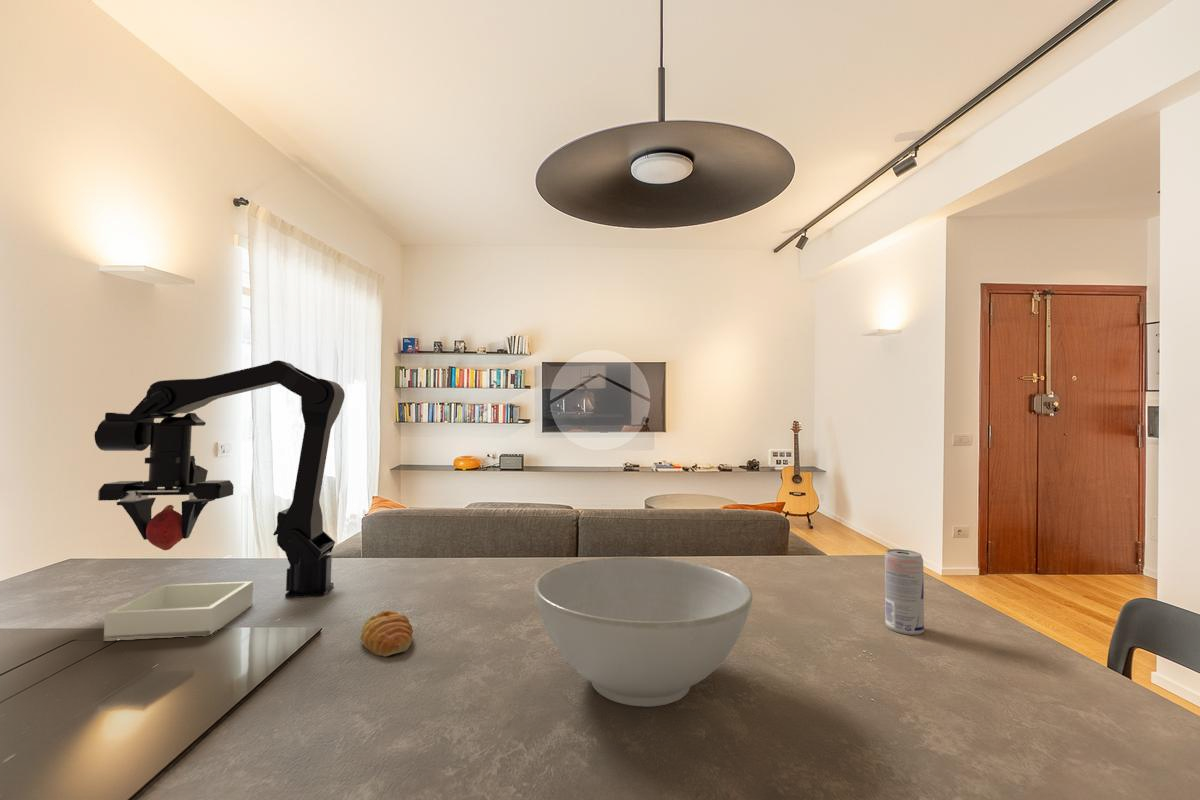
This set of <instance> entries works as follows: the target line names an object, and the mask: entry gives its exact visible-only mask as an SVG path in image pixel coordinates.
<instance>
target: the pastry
mask: <svg viewBox="0 0 1200 800" xmlns="http://www.w3.org/2000/svg"><path fill="white" fill-rule="evenodd" d="M413 633H414V629H413V626H412V624H411V623H410V620H409V618H408V617H407V616H406V615H404V614H399V613H398V612H397V611H393V610H384V611H380V612H378V613H377V614H375V615H373V616H371V617H369V619H368V620H367V621H366V622H365V624H364V625H363V627H362V629H361V633H360V641H361V643H362V646H363V647H364V648H365V649H367V650H368V651H369V652H371V653H373V654H374V655H376V656H382V657H388V656H391V655H394V654H399V653H404V652H407V651H408V649H409V648H410V646H411V644H412V641H413V638H414V637H413Z"/></svg>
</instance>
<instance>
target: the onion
mask: <svg viewBox="0 0 1200 800" xmlns="http://www.w3.org/2000/svg"><path fill="white" fill-rule="evenodd" d="M174 508H175V506H174V505H172V504H167V505H166V506H165V507H164V508H163V509H162V510H161V511H159V512H158V513H156V514H155V515H154V516H153V517H151V520H150V521H149V523H148V525H147V528H146V537H147V540H148V542H149V543H150V544H151V545H153V546H155V548H159V549H161V550H162V551H168V550H171V549H172V548H173V547H174V546H175V545H177V544H178V543H180V542H181V541H182V540H183V539H184V538H183V534H182V513H180V512H178V511H176V510H174Z"/></svg>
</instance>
